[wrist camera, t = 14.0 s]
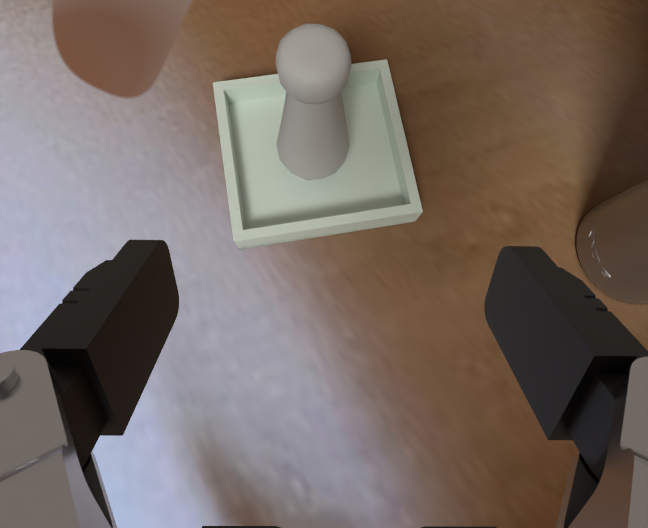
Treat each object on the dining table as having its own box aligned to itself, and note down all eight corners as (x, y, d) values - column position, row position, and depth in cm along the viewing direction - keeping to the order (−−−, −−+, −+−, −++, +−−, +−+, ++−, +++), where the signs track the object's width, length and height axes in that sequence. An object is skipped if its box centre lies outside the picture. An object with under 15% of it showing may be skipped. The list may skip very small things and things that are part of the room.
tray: (382, 78, 37) (387, 59, 35) (415, 221, 34) (422, 211, 32) (219, 100, 36) (212, 82, 34) (239, 249, 33) (233, 241, 31)
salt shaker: (278, 189, 34) (257, 93, 21) (279, 128, 35) (259, 2, 22) (347, 189, 34) (368, 94, 21) (346, 128, 35) (364, 3, 22)
